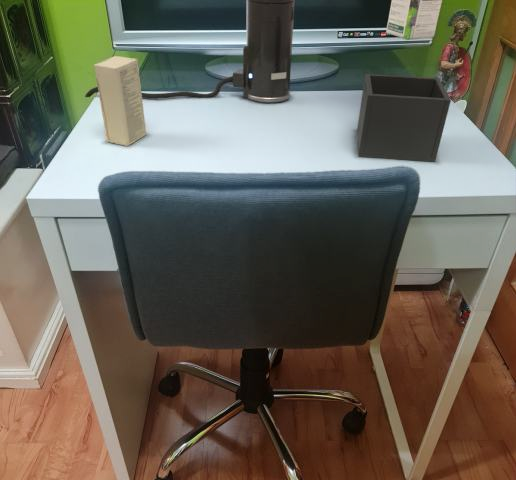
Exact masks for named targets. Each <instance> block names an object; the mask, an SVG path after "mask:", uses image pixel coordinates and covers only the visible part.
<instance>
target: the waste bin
mask: <svg viewBox="0 0 516 480" xmlns="http://www.w3.org/2000/svg"><path fill="white" fill-rule="evenodd" d="M361 93H362V94H361V100H360V107H359V113H358V120H357V127H356V138H357V140H356V141H357V155H358V157H360V158H374V159H388V160H399V161H415V162H416V161H417V162H430V163H435V162H436V159H437V157H438V152H439V148H440V145H441V140H442V136H443V132H444V129H445V125H446V121H447V118H448V114H449V110H450V105H451V101H452V100H451V97H450V96H449V94H448V92H447V90H446V88H445V86H444V84H443V83H442V81H441V79H440V77H428V76H409V75H395V74H394V75H391V74H373V73H365V74H364V80H363V87H362V92H361Z"/></svg>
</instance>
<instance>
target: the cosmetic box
mask: <svg viewBox="0 0 516 480" xmlns="http://www.w3.org/2000/svg"><path fill="white" fill-rule="evenodd" d="M93 68H94V74H95V78H96V85H97V86H96V87H98V91H99V92H98V97H99V102H100V109H101V112H102V120H103V125H104V132H105V137H106V142H107V143H111V144H114V145H115V144H116V145H121V146H125V147H128V146H130V145H132V144H133V143H135V142H137V141H138V140H140V139H142V138H143V137H145V136H146V135H147V128H146V119H145V112H144V103H143V98H142V94H141V93H142V87H141V79H140V70H139V61H138V58H132V57H127V56H119V55H114V56H111V57H109V58H107V59H104V60H101V61H99V62H97V63H94V64H93Z"/></svg>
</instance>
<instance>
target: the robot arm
mask: <svg viewBox="0 0 516 480" xmlns="http://www.w3.org/2000/svg"><path fill="white" fill-rule="evenodd" d="M295 2H296V0H246V15H245V16H246V21H245V22H246V25H245V26H246V27H245V28H246V30H245V31H246V32H245V33H246V34H245V37H246V38H245V39H246V40H245V42H246V44H245V45H243V50H242V67H238V68H237V69H236V70H234V72H232V75H231V76H228V77H225V78H223V79H222V80H220V81H219V82H218V83H217V84H216V87H215V90H214V91H211V92H209V93H200V92H193V91H173V92H164V93H150V92H149V93H147V92H141V94H142V99H143V98H144V99H155V100H156V99H170V98H179V97H180V98H181V97H188V98H189V97H190V98H196V99H210V98H214V97H216V96H218V95H219V94H220V92H221V88H222V87H223V86H224V85H226V84H228V83H230V82H232V87H233V88H239V89H242V98H243V99H249V100H251V101H253V102H259V103H266V104H267V103H270V104H271V103H279V102H284V101H287V100H289V99H290V97H291V95H290V94H291V91H290V89H291V74H292V73H291V72H292V71H291V70H292V55H293V54H292V51H293V37H294V35H293V34H294V19H295V18H294V17H295ZM96 93H99V91H98V86H96V87H93V88H90V90H88V92H86V94H85V96H84V98H90V97H92V96H93V95H94V94H96Z"/></svg>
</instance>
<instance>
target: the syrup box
mask: <svg viewBox="0 0 516 480" xmlns="http://www.w3.org/2000/svg"><path fill="white" fill-rule="evenodd" d="M390 2H391V3H390V8H389V14H388V20H387V25H386V29H385V30H386V31H385V34H387V35H391V36H395V37H398V38H401V39H403V40H406V41H412V40H423V39H429V38H434V37H435V34H436V30H437V24H438V20H439V16H440V11H441V8H442V3H443V0H391V1H390Z"/></svg>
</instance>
